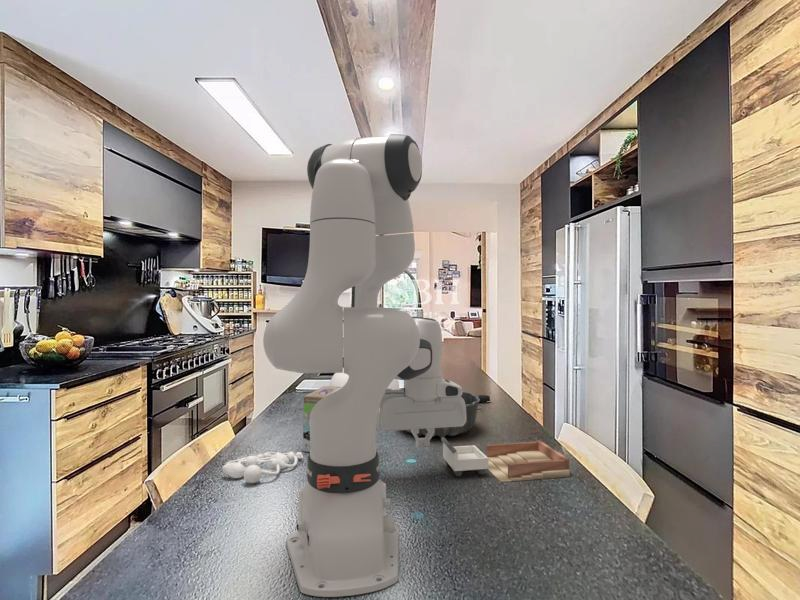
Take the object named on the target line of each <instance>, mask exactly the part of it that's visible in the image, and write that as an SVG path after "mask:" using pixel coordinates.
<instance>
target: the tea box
mask: <svg viewBox="0 0 800 600" xmlns="http://www.w3.org/2000/svg"><path fill="white" fill-rule="evenodd" d="M341 388H342V387H334V386H328V385H323V386H321V387H319V388H318V389H316V390H313V391H312V392H309V393H308V394H306V395H304V396H303V421H302V423H303V424H302V426H303V430H302V431H303V433H302V436H303V437H302V451H303V452H305V453H310V414H311V411H312V409H313V407H314V406H315V404H316V403H317V402H318V401H320V400H321V399H322V398H324V397H326V396H327V395H329V394H331V393H333V392H335V391H337V390H339V389H341Z"/></svg>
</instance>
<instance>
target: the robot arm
mask: <svg viewBox="0 0 800 600" xmlns="http://www.w3.org/2000/svg"><path fill="white" fill-rule="evenodd" d="M416 142H417V141H415V140H414V139H413V138H412V137H411V136H410V135H408V134H403V133H402V134H400V133H391V134H389V135H385V136H384V135H383V136H380V135H379V136H370V137H369V136H368V137H355V138H351V139H346V140H341V141H339V142H336V143H327V144H325V145H321V146H319V147H318V148H316V149H315V150H313V152H312V153H311V155H310V156H309V159H308V162H307V165H306V166H307V167H306V172H307V174H306V175H307V179H308V183H309V184H310V187H311V188H312V194H311V202H310V213H309V214H310V215H309V247H308V248H309V249H308V259H307V260H308V262H307V268H306V273H305V275H304V276H305V277H304V279H303V281H302V284H301V286H300V287H299V289H298V291H297V292H296V293H295V295H294V296H293V298H292V299H291V300H290V301H289V302H288V303H287V304H286V305H284V307H282V308H281V309H280V310H278V311H277V312H276V313H274V314H273V315H272V317H271V318H270V319H269V321H268V323H267V325H266V326H265V329H264V332H263V338H262V339H263V342H262V343H263V349H264V352H265V356H266V358H267V359H268V361H269V362H270V363H271V364H272V366H273V367H274V368H275V369H277V370H281V371H287V372H292V373H299V374H335V373H343V368H344V373H345V374H348V376H349V378H348V381H347V383H346V384H345V385H344V386H343V387H342V388H341V389H339V390H337V391H335V392H333V393H331V394H329V395H327V396H326V397H324V398H322V399H321V400H320V401H318V402H317V403H316V404H315V406H314V407H313V409H312V411H311V414H310V452H309V454H308V456H307V460H306V461H307V462H306V478H307V481H306V483H305V484H304V485H303V486H302V487H301V489H299V490H298V499H297V500H298V504H297V505H298V506H297V515H298V516H297V524H296V530H295V531H293V532H291V533H289V534H288V535H286V537H285V538H286V539H285V546H286V549H287V553H288V557H289V558H290V559H291V560H290V563H291V567H292V568H293V569H294V570H293V573H294V577H295V579H296V582H297V586H298V589H299V591H300V592H301V594H305V595H306V596H313V597H320V598H321V597H323V598H337V597H347V596H356V595H357V596H358V595H363V594H368V593H373V592H377V591H380V590H384V589H386V588H388V587H391V586H392V585H394V584H396V583H397V582H398V580H399V562H400V561H399V557H400V556H399V552H400V551H399V548H400V547H399V545H400V544H399V540H400V539H399V537H400V536H399V535H400V534H399V531H400V530H399V526H398V525H397V524H396V523H395V522H396V521H395V516H394V515H389V516H387V509H388V508H391V498H387V494H386V493H387V484H386V483H385V482H384V481H382V480H381V479H380V467H381V466H380V459H379V452H378V451H377V430H378V426H379V427H380V429H381V430H382V431H383V432H392V431H406V430H411V432H412V433H411V434H412V436H413V437H414V439H415V447H416V448H417V449H419V448H421V449H422V448H429V447H430V445H431V444H430V443H431V439H432V438H433V437H432V436H433V434H434V433H435V428H442V427H458V426H464V424H465V423H466V419H467V417H466V405H465V401H464V399H463V398H462V397H461V395H462V393H463V392H464V391H463V387H461V385H459V384H458V383H456V382H454V381H451V380H449V379H445V378H443V371H442V370H443V369H442V366H441V364H442V360H443V359H442V358H443V334H442V328H441V324H440V323H439V321H438V320H437V319H434V318H431V317H423V316H412V315H410V314H409V313H408V311H404V310H403V311H402V310H398V309H394V308H389V307H383V306H378V299H379V298H378V297H379V293H380V291H381V289H382V288H383V286H385V285H386V284H387V283H388V282H390V281H391V280H394V279H396V278H397V277H399V276H401V275H402V274H403V273H404V272H405V271H406V270H408V268H409V267H410V266H411V264H412V263H413V261H414V257H415V249H416V246H415V245H416V243H415V232H414V231H415V230H414V222H413V217H412V215H413V214H412V211H411V206H410V201H409V199H410V197H411V194H412V193H413V192H414V191H415V190H416V189H417V187H418V186H419V184H420V182H421V179H422V176H423V175H422V173H423V158H422V155H421V151H420V148H419V146H418V144H417V143H416ZM349 289H351V302H350V307H349V306H347V307H345V306H341V305H339V302H338V301H339V298H340V296H341V295H342V294H343V293H344V292H345V291H347V290H349ZM393 379H397V380H399V381H403V387H399V388H396V389H387V388H388V386H389V385H390V383H391V382H392V381H393ZM384 393H385V394H384ZM379 407H380V412H378V411H379ZM419 429H426V430H427V431H428V433H427V435H426V436H425V435H424V436H425V437H420V436H417V434H418V433H419ZM416 433H417V434H416Z"/></svg>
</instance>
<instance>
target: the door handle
mask: <svg viewBox="0 0 800 600" xmlns="http://www.w3.org/2000/svg"><path fill="white" fill-rule="evenodd" d="M475 395H476V396H479V399H480V402H487V401H490V402H491V397H490V395H486V394H482V395H481V394H478V395H477V394H475ZM477 410H481V411H482V407H481V406H480V403H478V407H477Z"/></svg>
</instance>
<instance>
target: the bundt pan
mask: <svg viewBox="0 0 800 600" xmlns="http://www.w3.org/2000/svg"><path fill="white" fill-rule="evenodd" d="M476 395H477V394H474V393H473V392H469V391H463V393H462V395H461V397H462V398H463V399H464V401H465V405H466V417H467V419H466V423H465V424H464V426H458V427H442V428H435V433H434V434H433V436H432V438H433V437H437V436H438V437H439V438H440V439H441V438H442V437H444V438H445V437H446V436H448V437H455V436H457V435H464V434H466V433H467V432H468V431H470V429H471V428H473V426H474V424H475V423H476V419H477V414H478V412H477V407H478V403H479V402H480V399H479V396H476ZM479 404H480V403H479ZM405 431H406V432H408V433H410V434H412V432H411V430H405ZM427 433H428V431H427V430H426V429H419V433H418V434H417V433H416V434H417V436H418V437H423V436H426V435H427Z"/></svg>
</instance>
